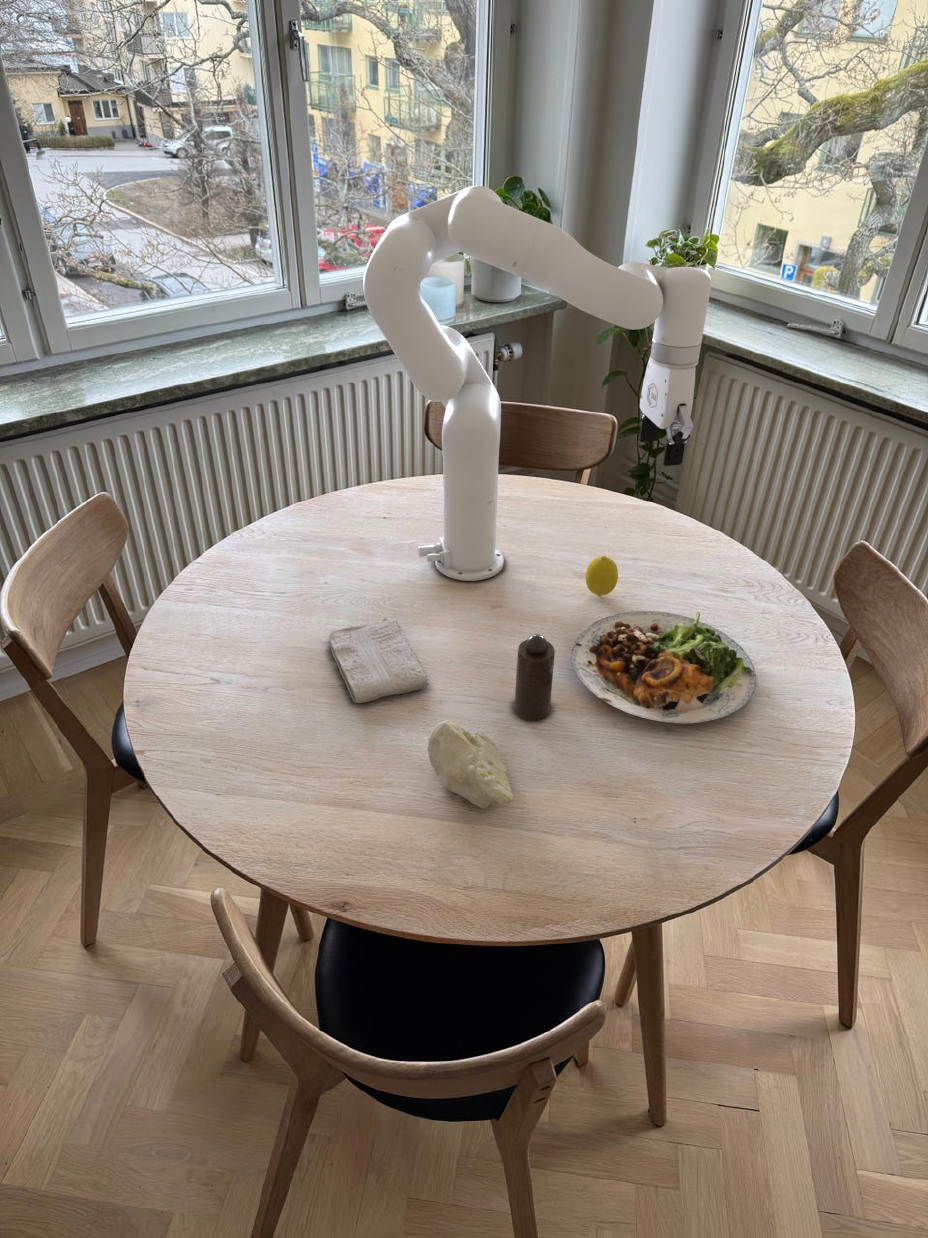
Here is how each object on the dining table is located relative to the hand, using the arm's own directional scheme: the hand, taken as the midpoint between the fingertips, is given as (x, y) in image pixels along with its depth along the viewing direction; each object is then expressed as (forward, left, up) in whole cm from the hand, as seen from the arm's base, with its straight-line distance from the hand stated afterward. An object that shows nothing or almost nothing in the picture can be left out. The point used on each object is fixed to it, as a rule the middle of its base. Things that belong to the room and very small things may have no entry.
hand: (659, 452), depth 152 cm
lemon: (-11, -6, -24) cm, 27 cm away
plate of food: (-9, -29, -24) cm, 39 cm away
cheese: (-42, -48, -24) cm, 68 cm away
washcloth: (-52, -18, -24) cm, 60 cm away
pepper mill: (-31, -33, -23) cm, 51 cm away
